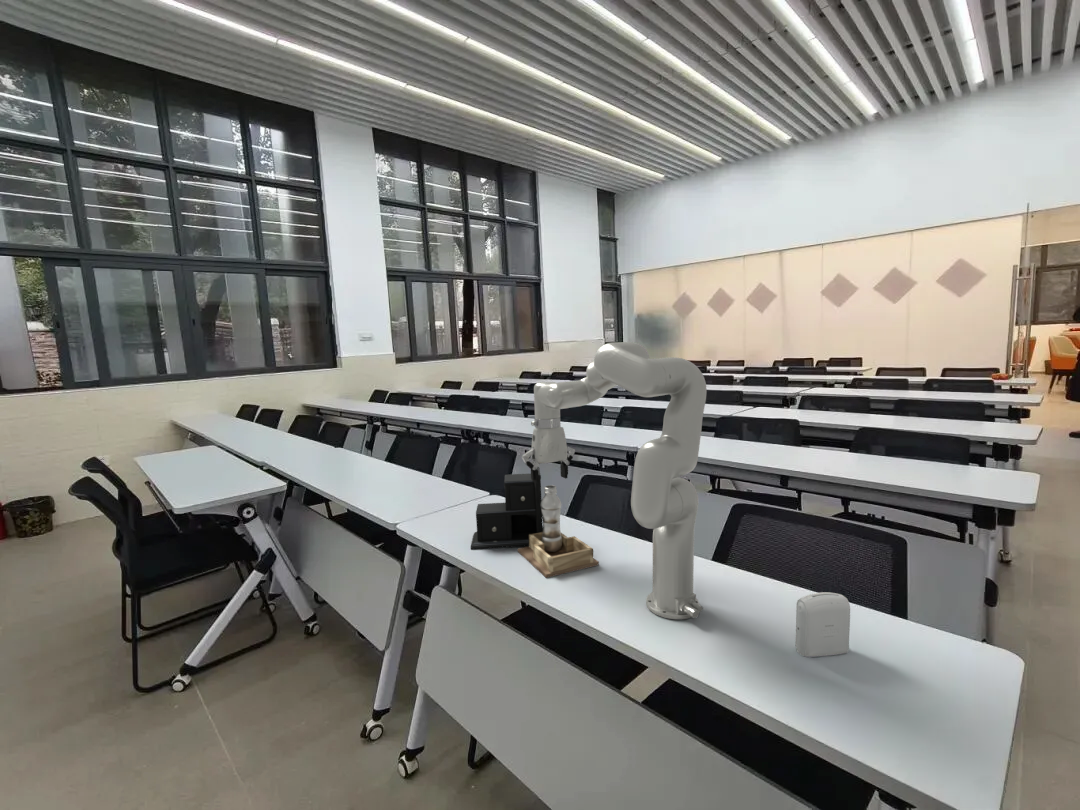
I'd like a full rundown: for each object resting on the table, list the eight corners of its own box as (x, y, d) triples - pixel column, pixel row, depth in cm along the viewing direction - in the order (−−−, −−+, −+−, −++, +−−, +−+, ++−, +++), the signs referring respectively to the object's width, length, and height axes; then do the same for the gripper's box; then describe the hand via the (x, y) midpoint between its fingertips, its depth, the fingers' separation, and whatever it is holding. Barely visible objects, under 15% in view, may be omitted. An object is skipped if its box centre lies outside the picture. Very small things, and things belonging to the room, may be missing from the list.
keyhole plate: (598, 564, 146) (598, 548, 145) (546, 577, 139) (545, 560, 138) (565, 541, 164) (565, 526, 163) (517, 551, 156) (517, 536, 156)
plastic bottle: (561, 545, 158) (560, 483, 156) (563, 554, 151) (562, 489, 149) (541, 546, 158) (539, 484, 155) (541, 555, 151) (540, 490, 149)
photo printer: (804, 659, 101) (806, 601, 99) (791, 647, 105) (793, 590, 103) (852, 655, 102) (855, 597, 100) (837, 642, 106) (840, 587, 104)
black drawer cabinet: (470, 550, 159) (466, 477, 156) (473, 537, 170) (470, 469, 167) (544, 546, 160) (542, 474, 157) (542, 534, 171) (540, 466, 168)
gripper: (526, 428, 143) (528, 486, 145) (579, 422, 150) (581, 478, 152) (516, 425, 149) (518, 481, 151) (567, 419, 157) (569, 473, 159)
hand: (549, 479), depth 152 cm, fingers open, 9 cm apart
